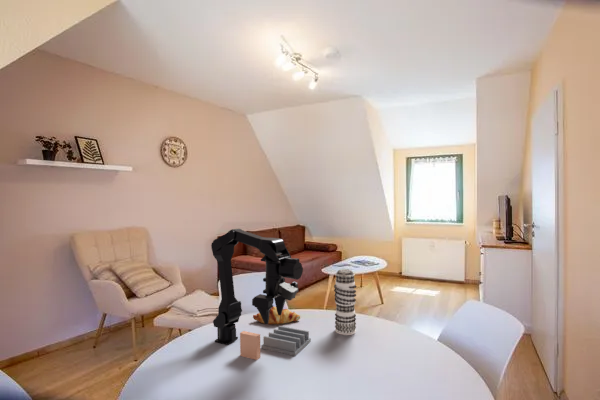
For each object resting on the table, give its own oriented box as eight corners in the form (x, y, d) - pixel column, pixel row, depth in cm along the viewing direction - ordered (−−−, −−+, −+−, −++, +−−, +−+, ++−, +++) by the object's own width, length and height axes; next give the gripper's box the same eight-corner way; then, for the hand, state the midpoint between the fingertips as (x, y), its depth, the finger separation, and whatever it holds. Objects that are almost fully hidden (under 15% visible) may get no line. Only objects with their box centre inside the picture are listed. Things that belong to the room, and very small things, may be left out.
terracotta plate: (240, 355, 114) (240, 333, 114) (243, 353, 116) (243, 330, 116) (257, 360, 111) (256, 336, 111) (260, 357, 113) (260, 334, 113)
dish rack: (261, 348, 120) (261, 337, 120) (279, 334, 131) (278, 324, 131) (295, 355, 113) (295, 344, 113) (310, 341, 125) (310, 330, 125)
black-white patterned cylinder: (353, 325, 140) (352, 267, 140) (359, 334, 131) (359, 272, 131) (332, 327, 139) (331, 268, 139) (337, 336, 129) (337, 273, 129)
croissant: (299, 326, 149) (299, 307, 153) (301, 323, 140) (301, 303, 144) (253, 326, 148) (253, 308, 151) (251, 323, 139) (252, 304, 143)
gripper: (281, 284, 102) (280, 334, 102) (305, 272, 119) (305, 314, 119) (251, 280, 107) (250, 327, 107) (278, 268, 124) (278, 309, 124)
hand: (273, 319), depth 114 cm, fingers open, 9 cm apart
